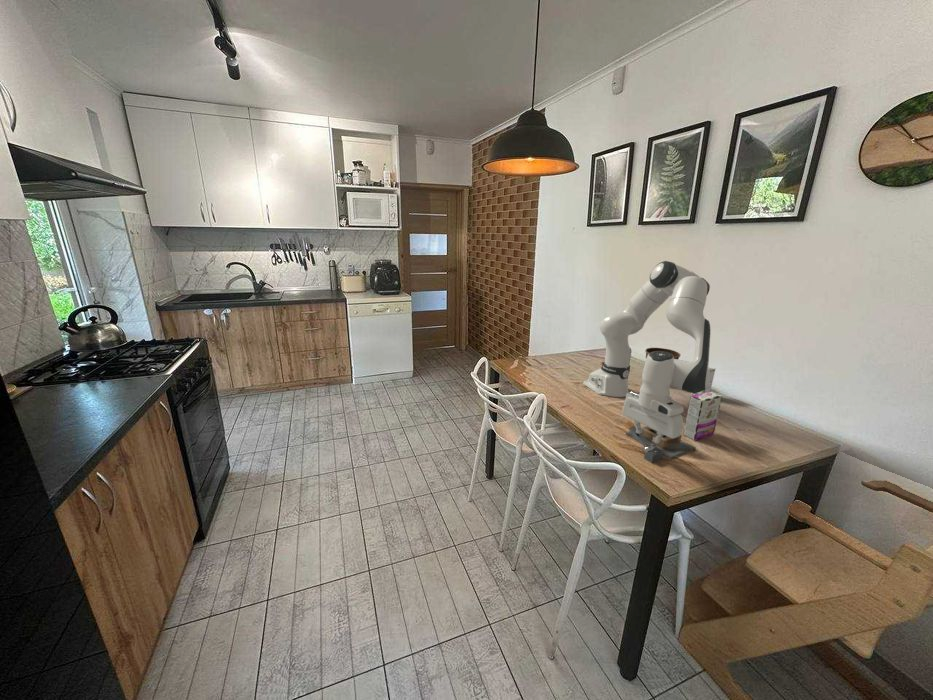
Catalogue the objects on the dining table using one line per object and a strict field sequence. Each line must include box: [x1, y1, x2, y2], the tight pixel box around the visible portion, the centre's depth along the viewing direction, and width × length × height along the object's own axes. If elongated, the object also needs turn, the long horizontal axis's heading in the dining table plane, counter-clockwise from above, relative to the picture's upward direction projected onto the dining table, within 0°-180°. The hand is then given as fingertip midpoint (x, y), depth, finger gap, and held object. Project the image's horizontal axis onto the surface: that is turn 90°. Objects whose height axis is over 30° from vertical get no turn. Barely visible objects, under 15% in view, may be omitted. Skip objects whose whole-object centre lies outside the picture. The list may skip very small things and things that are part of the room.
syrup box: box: [690, 365, 716, 396], centre depth 173 cm, size 6×6×14 cm
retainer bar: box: [624, 421, 651, 448], centre depth 128 cm, size 1×3×10 cm
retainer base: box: [642, 445, 663, 464], centre depth 123 cm, size 4×5×4 cm
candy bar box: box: [682, 390, 723, 441], centre depth 137 cm, size 11×5×16 cm, turn 114°
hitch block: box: [625, 426, 697, 460], centre depth 133 cm, size 18×14×4 cm
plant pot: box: [645, 347, 681, 360], centre depth 190 cm, size 16×16×16 cm
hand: (647, 437), depth 124 cm, fingers open, 5 cm apart
